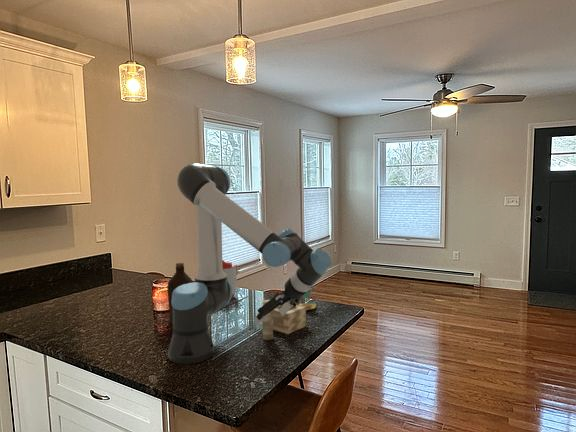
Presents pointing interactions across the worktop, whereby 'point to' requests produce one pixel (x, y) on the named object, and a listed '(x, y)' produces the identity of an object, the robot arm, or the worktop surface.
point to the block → (289, 319)
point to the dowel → (267, 324)
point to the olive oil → (177, 284)
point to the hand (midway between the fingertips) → (268, 317)
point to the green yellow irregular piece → (307, 305)
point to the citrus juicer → (230, 275)
